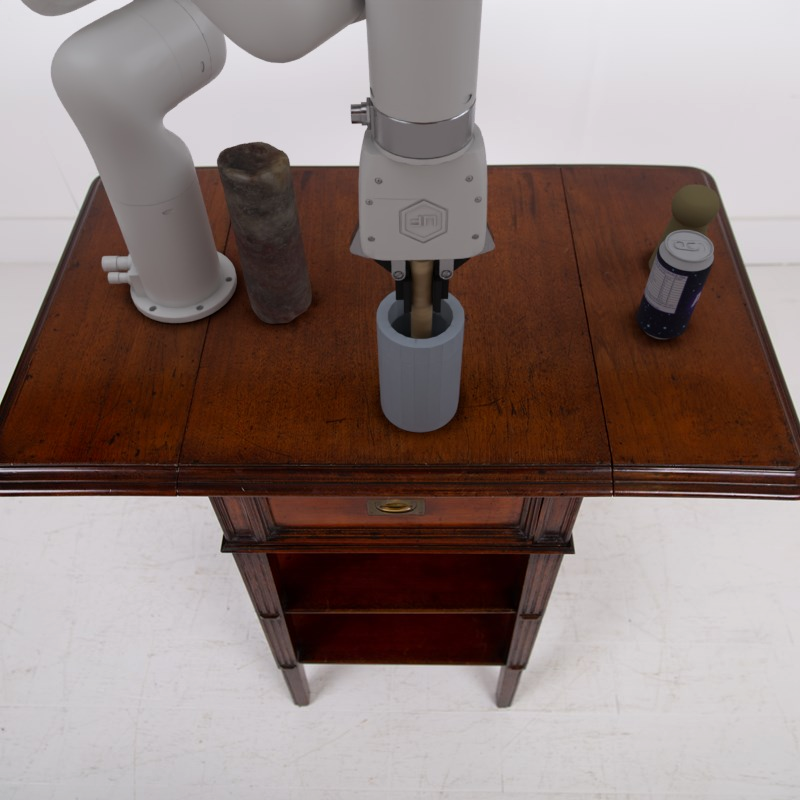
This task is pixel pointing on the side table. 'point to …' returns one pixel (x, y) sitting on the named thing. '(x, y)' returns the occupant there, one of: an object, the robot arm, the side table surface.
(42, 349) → the side table surface
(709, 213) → the olive pawn
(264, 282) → the brown rough cylinder
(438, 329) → the grey hollow tube
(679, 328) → the beverage can
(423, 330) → the brush
